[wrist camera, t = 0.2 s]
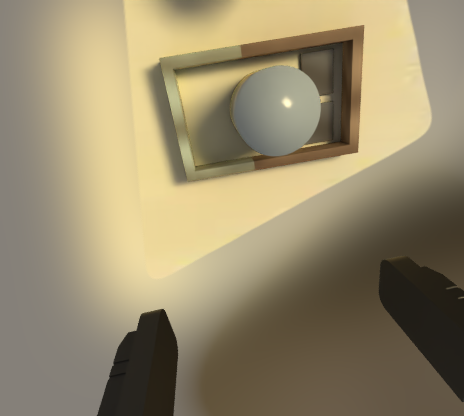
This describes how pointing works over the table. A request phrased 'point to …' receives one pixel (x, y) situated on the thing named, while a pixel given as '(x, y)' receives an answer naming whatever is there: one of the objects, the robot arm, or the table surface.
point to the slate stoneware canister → (275, 110)
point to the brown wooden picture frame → (311, 64)
